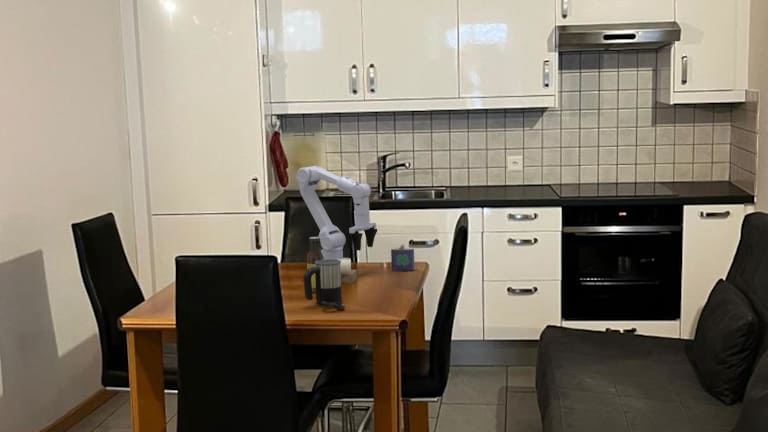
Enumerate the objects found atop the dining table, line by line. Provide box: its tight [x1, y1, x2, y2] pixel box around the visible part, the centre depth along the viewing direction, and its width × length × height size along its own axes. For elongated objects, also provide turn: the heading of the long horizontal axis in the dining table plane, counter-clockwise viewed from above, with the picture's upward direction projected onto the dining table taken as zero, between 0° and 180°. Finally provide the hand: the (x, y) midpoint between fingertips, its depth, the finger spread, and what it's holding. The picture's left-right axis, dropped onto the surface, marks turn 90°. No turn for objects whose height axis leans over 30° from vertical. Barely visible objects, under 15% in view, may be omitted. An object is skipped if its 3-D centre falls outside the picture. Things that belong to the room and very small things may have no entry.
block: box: [341, 269, 358, 284], centre depth 351 cm, size 8×8×4 cm
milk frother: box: [302, 259, 345, 311], centre depth 311 cm, size 14×16×15 cm
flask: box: [390, 244, 416, 273], centre depth 365 cm, size 9×3×11 cm, turn 87°
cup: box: [338, 257, 352, 273], centre depth 350 cm, size 5×5×5 cm
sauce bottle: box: [306, 236, 324, 293], centre depth 334 cm, size 6×6×20 cm
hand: (364, 248), depth 359 cm, fingers open, 7 cm apart
